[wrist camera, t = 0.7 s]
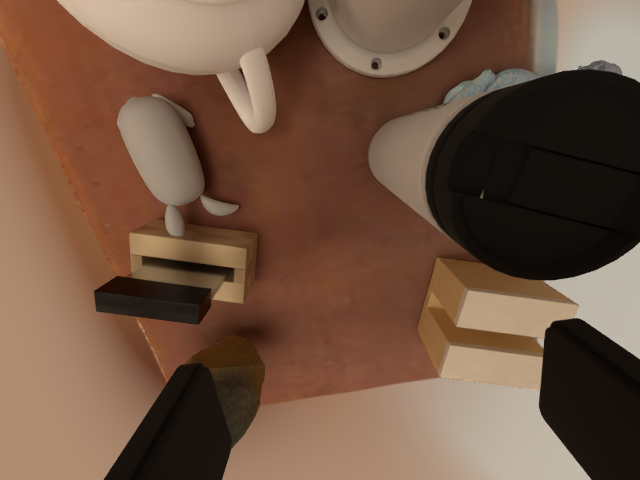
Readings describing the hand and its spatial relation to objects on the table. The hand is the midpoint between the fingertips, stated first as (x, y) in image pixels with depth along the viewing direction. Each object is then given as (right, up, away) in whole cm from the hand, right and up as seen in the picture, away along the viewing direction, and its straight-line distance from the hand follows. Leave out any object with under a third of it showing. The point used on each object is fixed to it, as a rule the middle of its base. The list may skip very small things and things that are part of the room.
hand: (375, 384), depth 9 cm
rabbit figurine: (-13, +11, +20) cm, 26 cm away
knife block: (-13, +3, +22) cm, 26 cm away
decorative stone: (-11, -7, +26) cm, 29 cm away
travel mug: (+6, +12, +19) cm, 23 cm away
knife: (-13, +3, +22) cm, 26 cm away
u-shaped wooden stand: (+14, -2, +23) cm, 27 cm away
